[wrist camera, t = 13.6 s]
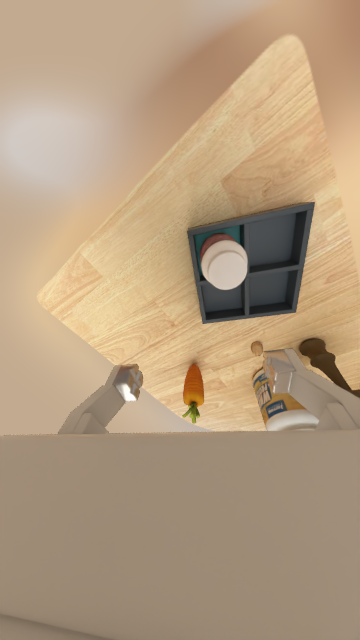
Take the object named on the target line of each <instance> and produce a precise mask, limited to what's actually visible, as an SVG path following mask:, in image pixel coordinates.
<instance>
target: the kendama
mask: <svg viewBox="0 0 360 640" xmlns="http://www.w3.org/2000/svg"><path fill="white" fill-rule="evenodd" d="M300 352H301V354H302V355H304V356H308V357H309V358H310V359H311V360H310V364H311V365H312V366H313V367H316V368H319V369H320V370H321V371H323V372H324V373H325V374H326V375H327V376H328V377H329V378H330V379H331V380H332V381H333V382H334V383H335V384H336V385H337V386H339V387H341V388H342V389H344V390H346V391H348V392H349V393H351V394H353V395H355V396H356V397H358V398H360V390H351V388H350V387H349V385H348V384H347V383H346V381H345V380H344V378H343V377H342V375H341V373H340V372H339V370H338V368H337V367H336V365H335V362H334V361H335V356H334V354H332V353H329V352H327V351H326V349H325V343H324V341H323V340H320V339H311V340H308V341H306V342H304V343H303V344H302V345H301V347H300Z"/></svg>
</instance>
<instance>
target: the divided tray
mask: <svg viewBox="0 0 360 640" xmlns="http://www.w3.org/2000/svg"><path fill="white" fill-rule="evenodd" d="M314 204H315V202H304V203H297V204H293V205H289V206H284V207H280V208H275V209H271V210H266V211H262V212H258V213H253V214H249V215H244V216H240V217H236V218H231V219H227V220H222V221H218V222H214V223H209V224H205V225H200V226H196V227H192V228H188V230H187V233H188V238H189V244H190V250H191V256H192V262H193V268H194V274H195V280H196V286H197V292H198V298H199V304H200V310H201V316H202V322H203V324H206V323H214V322H222V321H230V320H238V319H247V318H255V317H263V316H271V315H279V314H287V313H296V308H297V303H298V297H299V291H300V285H301V279H302V274H303V268H304V263H305V257H306V251H307V245H308V239H309V233H310V228H311V222H312V216H313V210H314ZM215 233H225V234H228V235H230V236H231V237H232V238H233V239H235V240H236V241H237V242H238V243H239V244H240V245H241V246H242V247H243V249H244V250H245V252H246V254H247V259H248V263H247V274H246V277H245V279H244V280H243V281H242V283H241V284H240V285H238V286H237V287H235V288H233V289H229V290H222V289H218V288H216V287H215V286H214V285H213V284H211V283H210V282H208V281H207V280H206V278H205V277H204V275H203V272H202V268H201V256H200V252H201V247H202V244H203V243H204V241H205V240H206V239H207V238H208V237H209V236H211V235H213V234H215Z"/></svg>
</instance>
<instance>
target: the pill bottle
mask: <svg viewBox="0 0 360 640" xmlns="http://www.w3.org/2000/svg"><path fill="white" fill-rule="evenodd" d="M200 256H201V268H202V272H203V275H204V277H205V278H206V280H207V281H208V282H210V283H211V284H213V285H214V286H215V287H216V288H218V289H222V290H229V289H233V288H235V287H237V286H238V285H240V284H241V283H242V281H243V280H244V279H245V277H246V274H247V263H248V259H247V254H246V252H245V250H244V249H243V247H242V246H241V245H240V244H239V243H238V242H237V241H236V240H235V239H233V238H232V237H231V236H230V235H228V234H225V233H215V234H213V235H211V236H209V237H208V238H207V239H206V240H205V241H204V243H203V244H202V247H201V252H200Z"/></svg>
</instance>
